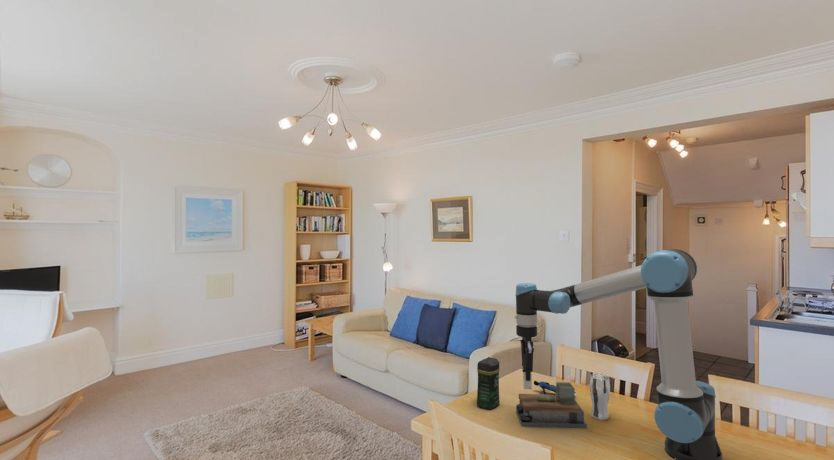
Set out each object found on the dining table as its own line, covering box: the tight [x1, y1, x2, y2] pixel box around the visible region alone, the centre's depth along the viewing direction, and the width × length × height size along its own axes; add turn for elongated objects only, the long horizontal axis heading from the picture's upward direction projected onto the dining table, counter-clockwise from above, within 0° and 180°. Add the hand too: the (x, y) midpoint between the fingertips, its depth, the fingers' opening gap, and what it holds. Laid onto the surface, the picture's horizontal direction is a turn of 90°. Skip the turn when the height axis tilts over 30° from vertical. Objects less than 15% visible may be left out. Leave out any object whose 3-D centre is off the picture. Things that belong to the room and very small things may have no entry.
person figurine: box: [533, 380, 577, 398], centre depth 180 cm, size 11×4×18 cm
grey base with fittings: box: [515, 401, 588, 429], centre depth 156 cm, size 12×23×5 cm, turn 86°
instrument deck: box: [518, 381, 582, 413], centre depth 156 cm, size 12×20×8 cm, turn 86°
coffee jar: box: [476, 356, 500, 410], centre depth 170 cm, size 10×8×19 cm
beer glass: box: [589, 373, 611, 421], centre depth 159 cm, size 7×7×15 cm
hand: (527, 388), depth 157 cm, fingers closed
